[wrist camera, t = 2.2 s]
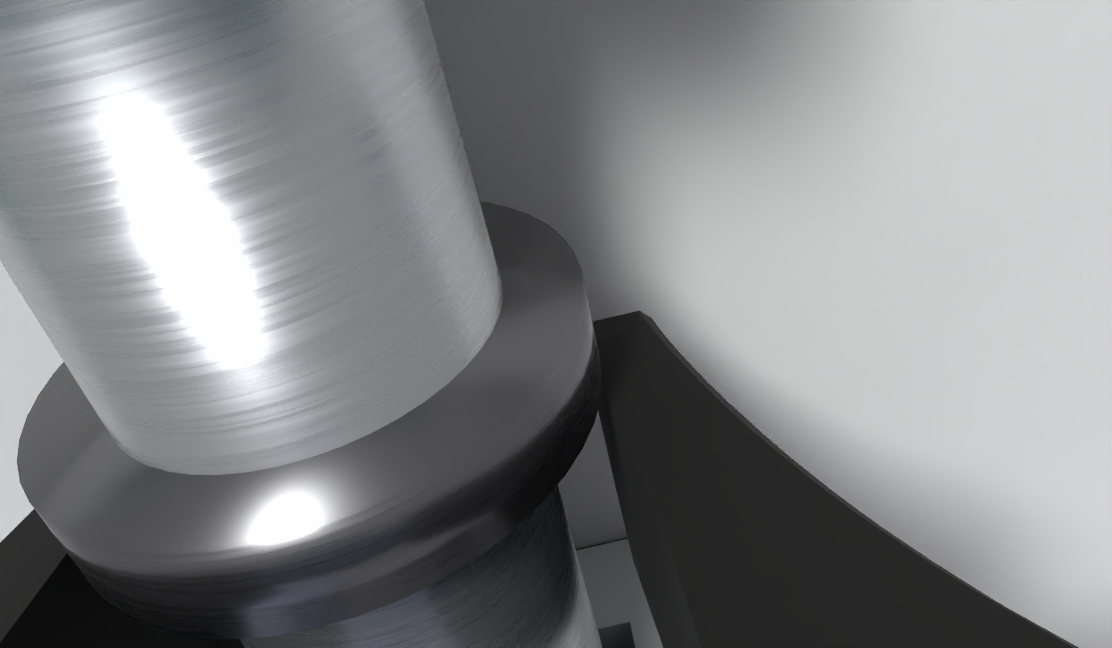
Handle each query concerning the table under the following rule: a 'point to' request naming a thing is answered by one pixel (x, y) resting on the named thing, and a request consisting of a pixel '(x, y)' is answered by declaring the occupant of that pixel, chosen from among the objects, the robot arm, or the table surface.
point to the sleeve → (617, 597)
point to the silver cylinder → (288, 330)
